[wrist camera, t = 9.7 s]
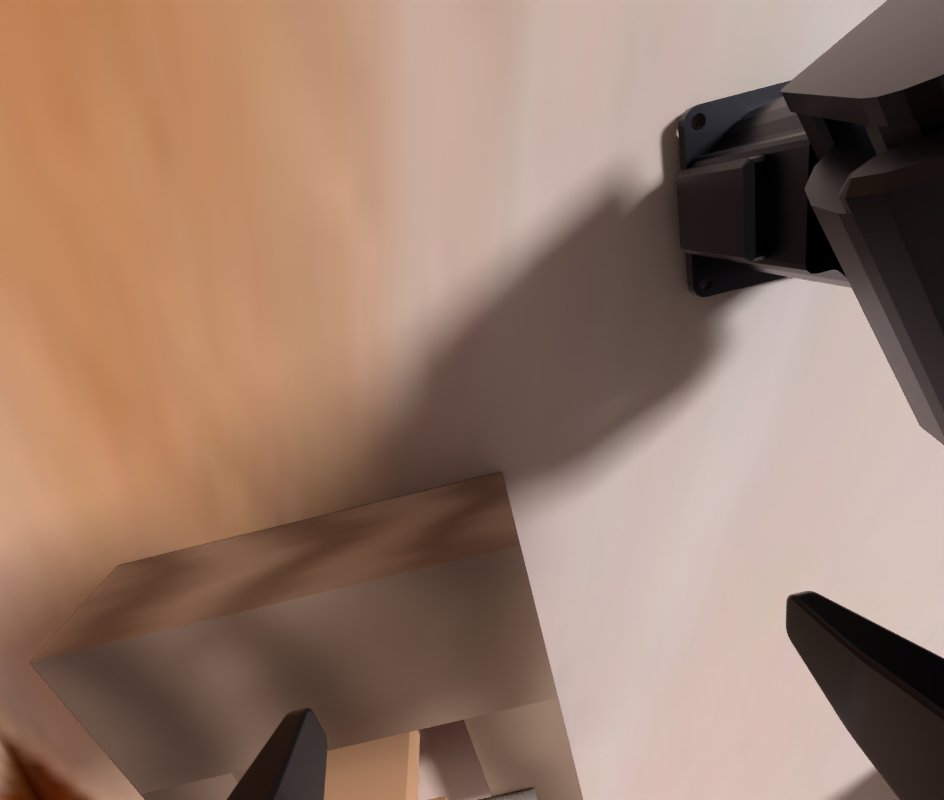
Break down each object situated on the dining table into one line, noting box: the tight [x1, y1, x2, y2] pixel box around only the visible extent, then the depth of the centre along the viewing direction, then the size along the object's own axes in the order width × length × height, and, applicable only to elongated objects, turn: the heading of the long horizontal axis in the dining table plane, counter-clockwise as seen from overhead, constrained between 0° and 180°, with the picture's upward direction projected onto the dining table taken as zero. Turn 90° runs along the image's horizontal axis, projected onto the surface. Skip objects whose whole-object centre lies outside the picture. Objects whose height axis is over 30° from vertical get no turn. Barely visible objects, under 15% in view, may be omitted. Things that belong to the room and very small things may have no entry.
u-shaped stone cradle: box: [29, 472, 583, 800], centre depth 23 cm, size 18×20×5 cm
